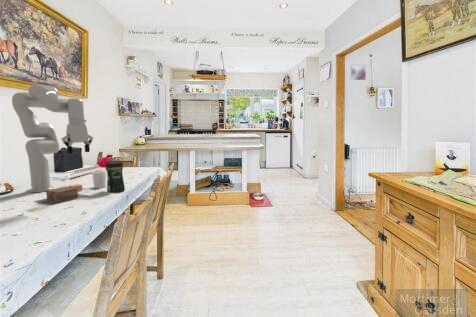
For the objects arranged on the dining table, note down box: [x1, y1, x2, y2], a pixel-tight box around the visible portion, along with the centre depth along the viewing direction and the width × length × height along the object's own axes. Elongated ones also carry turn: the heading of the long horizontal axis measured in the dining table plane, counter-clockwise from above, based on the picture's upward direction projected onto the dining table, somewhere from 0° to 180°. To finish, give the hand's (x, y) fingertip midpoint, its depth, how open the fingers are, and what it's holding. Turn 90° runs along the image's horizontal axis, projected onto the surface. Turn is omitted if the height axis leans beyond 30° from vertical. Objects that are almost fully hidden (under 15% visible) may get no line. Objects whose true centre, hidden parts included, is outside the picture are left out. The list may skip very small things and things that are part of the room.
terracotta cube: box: [67, 183, 83, 193], centre depth 162 cm, size 5×5×5 cm
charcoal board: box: [33, 193, 89, 206], centre depth 145 cm, size 16×20×2 cm
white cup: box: [91, 170, 107, 189], centre depth 179 cm, size 8×8×10 cm
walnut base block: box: [45, 186, 79, 202], centre depth 145 cm, size 10×10×5 cm
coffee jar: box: [105, 160, 125, 194], centre depth 166 cm, size 10×8×19 cm
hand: (79, 152), depth 154 cm, fingers open, 9 cm apart
